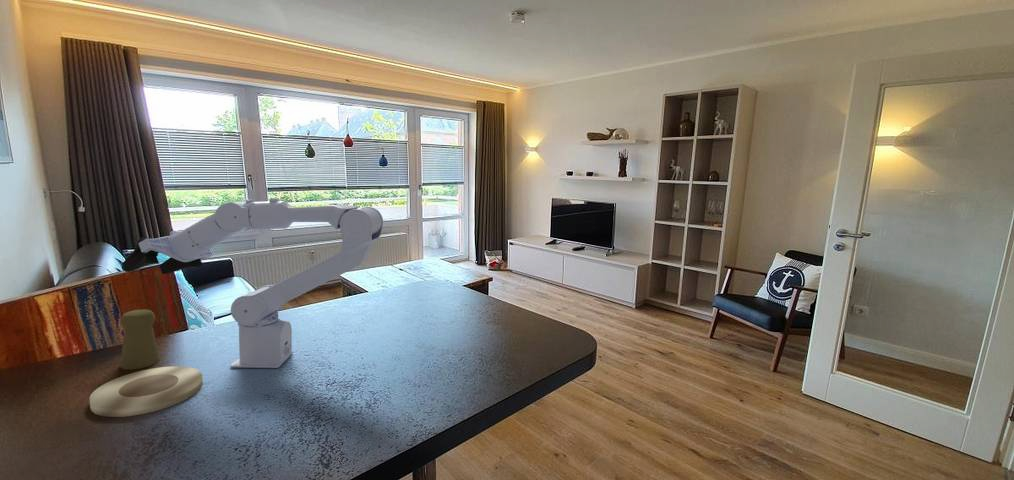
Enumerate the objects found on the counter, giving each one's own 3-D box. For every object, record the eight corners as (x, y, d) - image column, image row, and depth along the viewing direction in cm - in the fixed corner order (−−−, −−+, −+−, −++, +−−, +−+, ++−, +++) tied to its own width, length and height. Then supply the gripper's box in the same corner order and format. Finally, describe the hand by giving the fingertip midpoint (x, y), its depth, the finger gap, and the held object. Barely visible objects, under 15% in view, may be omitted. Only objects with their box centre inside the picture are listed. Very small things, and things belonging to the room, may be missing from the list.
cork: (136, 371, 79) (133, 317, 78) (111, 366, 81) (108, 313, 79) (167, 359, 85) (165, 308, 84) (144, 354, 86) (141, 305, 85)
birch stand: (219, 374, 81) (219, 366, 80) (166, 416, 66) (165, 408, 66) (136, 373, 79) (136, 365, 79) (62, 417, 64) (61, 407, 64)
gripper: (222, 226, 91) (170, 255, 92) (161, 213, 77) (100, 247, 77) (233, 254, 90) (181, 283, 90) (173, 245, 76) (111, 280, 76)
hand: (144, 268), depth 84 cm, fingers open, 7 cm apart
